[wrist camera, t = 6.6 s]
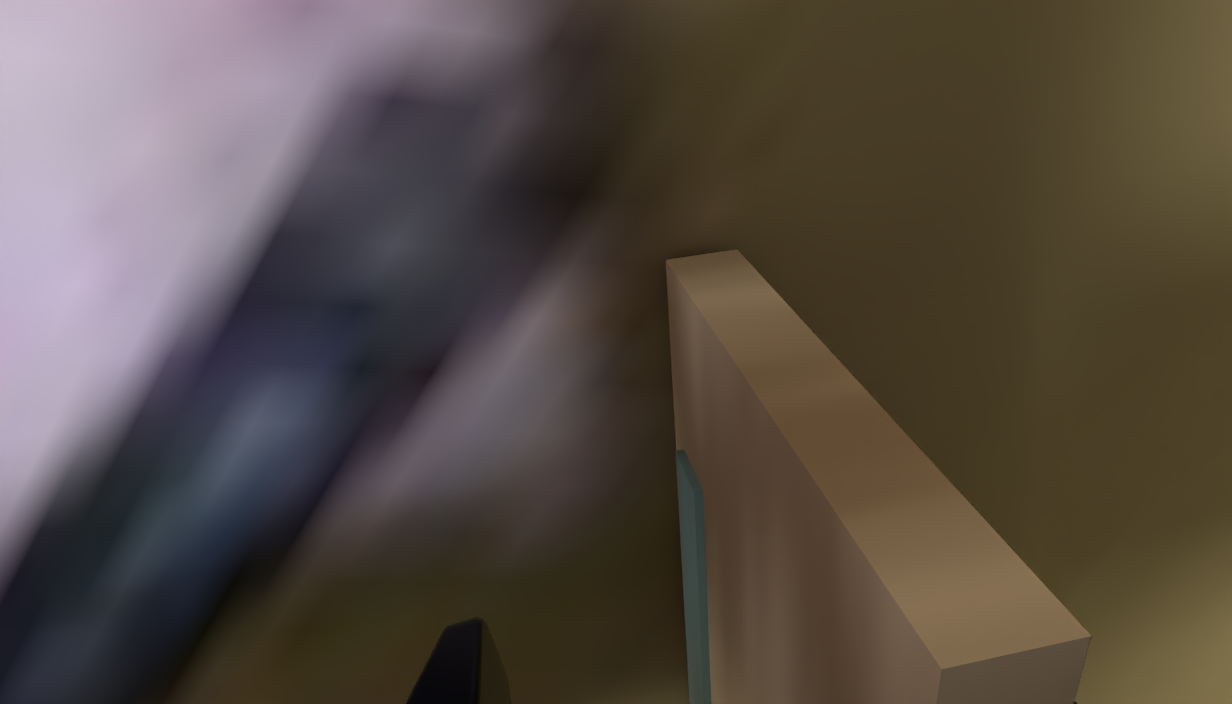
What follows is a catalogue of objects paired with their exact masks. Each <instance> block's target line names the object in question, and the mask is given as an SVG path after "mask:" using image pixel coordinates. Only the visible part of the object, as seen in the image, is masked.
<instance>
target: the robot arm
mask: <svg viewBox="0 0 1232 704" xmlns="http://www.w3.org/2000/svg"><path fill="white" fill-rule="evenodd" d="M406 704H511V700H510V693H509V686H508V681H507V676H506V673H505V669H504V666H503V663H502V661H501V658H500V656H499V653H498V651H497V648H496V646H495V643H494V641H493V638H492V636H491V633H490V631H489V628H488V626H487V624H486V622H485V621H484V620H483V619H482V618H479V617H475V618H472V619H468V620H465V621H461V622H458V623H454V624H451V625H449V626H447V627H446V628H445V629H444V630H443V632H442V634H441V636H440V638H439V640H438V642H437V644H436V646H435V648H434V650H433V651H432V653H431V655H430V657H429V659H428V661H427V663H426V665H425V667H424V669H423V671H422V673H421V675H420V677H419V679H418V681H417V683H416V685H415V687H414V689H413V690H412V692H411V694H410V696H409V698H408V700H407V702H406ZM1074 704H1077V703H1076V702H1075V701H1074Z"/></svg>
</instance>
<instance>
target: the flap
mask: <svg viewBox="0 0 1232 704" xmlns="http://www.w3.org/2000/svg"><path fill="white" fill-rule="evenodd" d="M666 277H667V294H668V312H669V330H670V348H671V365H672V383H673V401H674V419H675V436H676V451H675V453H676V470H677V488H678V505H679V523H680V540H681V558H682V575H683V593H684V611H685V628H686V646H687V663H688V681H689V698H690V704H1074V700H1075V697H1076V693H1077V689H1078V685H1079V681H1080V678H1081V674H1082V670H1083V666H1084V662H1085V659H1086V655H1087V651H1088V647H1089V643H1090V640H1091V635H1090V634H1089V633H1088V632H1087V631H1086V629H1085V628H1084V627H1083V626H1082V625H1081V624H1080V623H1079V622H1078V621H1077V620H1076V619H1075V617H1074V616H1073V615H1072V614H1071V613H1070V612H1069V611H1068V610H1067V609H1066V608H1065V607H1064V605H1063V604H1062V603H1061V602H1060V601H1059V600H1058V599H1057V598H1056V597H1055V596H1054V595H1053V593H1052V592H1051V591H1050V590H1049V589H1048V588H1047V587H1046V586H1045V585H1044V584H1043V583H1042V581H1041V580H1040V579H1039V578H1038V577H1037V576H1036V575H1035V574H1034V573H1033V572H1032V571H1031V569H1030V568H1029V567H1028V566H1027V565H1026V564H1025V563H1024V562H1023V561H1022V560H1021V559H1020V557H1019V556H1018V555H1017V554H1016V553H1015V552H1014V551H1013V550H1012V549H1011V548H1010V547H1009V545H1008V544H1007V543H1006V542H1005V541H1004V540H1003V539H1002V538H1001V537H1000V536H999V534H998V533H997V532H996V531H995V530H994V529H993V528H992V527H991V526H990V525H989V524H988V522H987V521H986V520H985V519H984V518H983V517H982V516H981V515H980V514H979V513H978V512H977V510H976V509H975V508H974V507H973V506H972V505H971V504H970V503H969V502H968V501H967V500H966V498H965V497H964V496H963V495H962V494H961V493H960V492H959V491H958V490H957V489H956V488H955V486H954V485H953V484H952V483H951V482H950V481H949V480H948V479H947V478H946V477H945V476H944V474H943V473H942V472H941V471H940V470H939V469H938V468H937V467H936V466H935V465H934V464H933V462H932V461H931V460H930V459H929V458H928V457H927V456H926V455H925V454H924V453H923V452H922V450H921V449H920V448H919V447H918V446H917V445H916V444H915V443H914V442H913V441H912V440H911V438H910V437H909V436H908V435H907V434H906V433H905V432H904V431H903V430H902V429H901V428H900V426H899V425H898V424H897V423H896V422H895V421H894V420H893V419H892V418H891V417H890V416H889V414H888V413H887V412H886V411H885V410H884V409H883V408H882V407H881V406H880V405H879V404H878V402H877V401H876V400H875V399H874V398H873V397H872V396H871V395H870V394H869V393H868V392H867V390H866V389H865V388H864V387H863V386H862V385H861V384H860V383H859V382H858V381H857V380H856V378H855V377H854V376H853V375H852V374H851V373H850V372H849V371H848V370H847V369H846V368H845V366H844V365H843V364H842V363H841V362H840V361H839V360H838V359H837V358H836V357H835V356H834V354H833V353H832V352H831V351H830V350H829V349H828V348H827V347H826V346H825V345H824V344H823V342H822V341H821V340H820V339H819V338H818V337H817V336H816V335H815V334H814V333H813V332H812V330H811V329H810V328H809V327H808V326H807V325H806V324H805V323H804V322H803V321H802V320H801V318H800V317H799V316H798V315H797V314H796V313H795V312H794V311H793V310H792V309H791V307H790V306H789V305H788V304H787V303H786V302H785V301H784V300H783V299H782V298H781V297H780V295H779V294H778V293H777V292H776V291H775V290H774V289H773V288H772V287H771V286H770V285H769V283H768V282H767V281H766V280H765V279H764V278H763V277H762V276H761V275H760V274H759V273H758V271H757V270H756V269H755V268H754V267H753V266H752V265H751V264H750V263H749V262H748V261H747V259H746V258H745V257H744V256H743V255H742V254H741V253H740V252H739V251H738V250H737V249H736V250H729V251H722V252H716V253H709V254H702V255H695V256H689V257H682V258H675V259H668V260H666Z"/></svg>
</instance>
